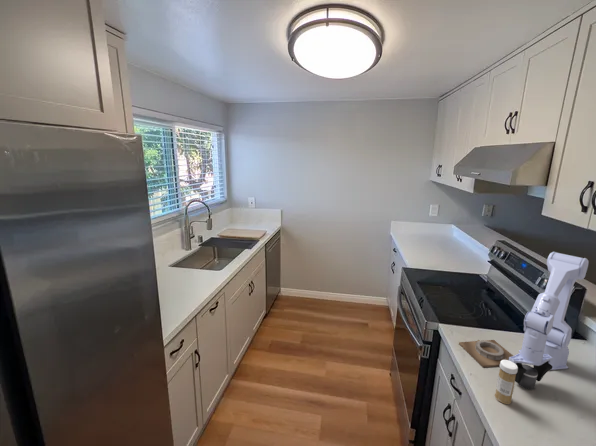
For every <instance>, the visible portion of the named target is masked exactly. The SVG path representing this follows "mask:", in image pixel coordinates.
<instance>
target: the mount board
mask: <svg viewBox="0 0 596 446" xmlns="http://www.w3.org/2000/svg"><path fill="white" fill-rule="evenodd" d="M458 345H459V346H460V347H462V349H463V350H464V351H465V352H467V354H469V356H470V357H472V358H473V360H475V362H476V363H478V364H479V366H480V367H482V368H493V367H495V368H496V367H500V362H501V360H508V358H509V357H512V356H514V355H513V354H512V353H511V352H510V351H508V350H507V349H506V348H505V347H503V345H501V344H500V343H499V342H497V340H494V339H486V340H483V339H482V340H481V339H480V340H479V339H477V340H474V341H473V340H472V341H460V342H459V341H458Z"/></svg>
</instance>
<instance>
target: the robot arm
mask: <svg viewBox="0 0 596 446" xmlns="http://www.w3.org/2000/svg"><path fill="white" fill-rule="evenodd" d="M589 262H590V261H589V260H588V258H586V257H584V258H583V257H579V256H575V255H569V254H565V253H560V252H557V251H552V252H550V253H549V255H548V257H547V259H546V266H547V271H548V272H549V273H550V274H549V277H548V281H547V283H546V287H545V289H544V292H541V293H539V294H538V295H537V297H536V299H535V302H534V303H533V306H532V308H531V310H530V311H527V312H526V314H525V316H524V319H523V332H524V334H523V339H522V344H521V349H519V350H518V353H517V354H515V355H513V356H512V357H509V358H508V360H509V361H511V362H513V363H515V364H516V365H517V367H518V371H517V374H516V377H515V383H516V384H518V383H520V382H521V379H522V376H523V374H524V373H525V372H526V371H527V370H526V369H525V368H523V365H522V364H524V365H529V366H531V365H532V367H533V368H534V369H536V370H537V372H538V376H537V379H536V382H541V380H542V379H543V378H544V376H545V375H546V373H548V372H550V371H554V370H565V369H569V366H567V363H568V359H569V354H570V351H569V344H570V342H571V340H572V333H573V330H572V328H571V326H570V325H569V324H568V323H567V322H566V321H565V317H566V315H567V310H568V306H569V303H570V299H571V295H572V291H573V289H574V286H575V285H574V284H575V283H576V282H577V280H578V281H579V280H580V281H581V280H584V278H585V277H586V275H587V274H586V273H587V271H588V268H589Z"/></svg>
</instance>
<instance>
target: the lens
mask: <svg viewBox="0 0 596 446" xmlns="http://www.w3.org/2000/svg"><path fill="white" fill-rule="evenodd" d="M522 365H523V368H525V369H526V370H527V371H526V372H525V373H524V374H523V376H522V379H521V382H520V383H517V385H519V387H521V388H523V389H525V390H530V391H532V390H535V388H536V383H537V380H536V379H537V376H538V372H537V370H536V369H534V368H533V366H531V365H529V364H523V363H522Z"/></svg>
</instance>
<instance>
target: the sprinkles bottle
mask: <svg viewBox="0 0 596 446" xmlns="http://www.w3.org/2000/svg"><path fill="white" fill-rule="evenodd" d="M517 371H518V367H517V365H516V364H515V363H513V362H511V361H509V360H501V362H500V366H499V371H498V376H497V383H496V388H495V392H494V397H495V399H496V400H497V401H498V402H500V403H501V404H504V405H510V404H511V403H512V399H513V398H512V397H513V394H514V389H515V383H516V381H515V377H516V374H517Z"/></svg>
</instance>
